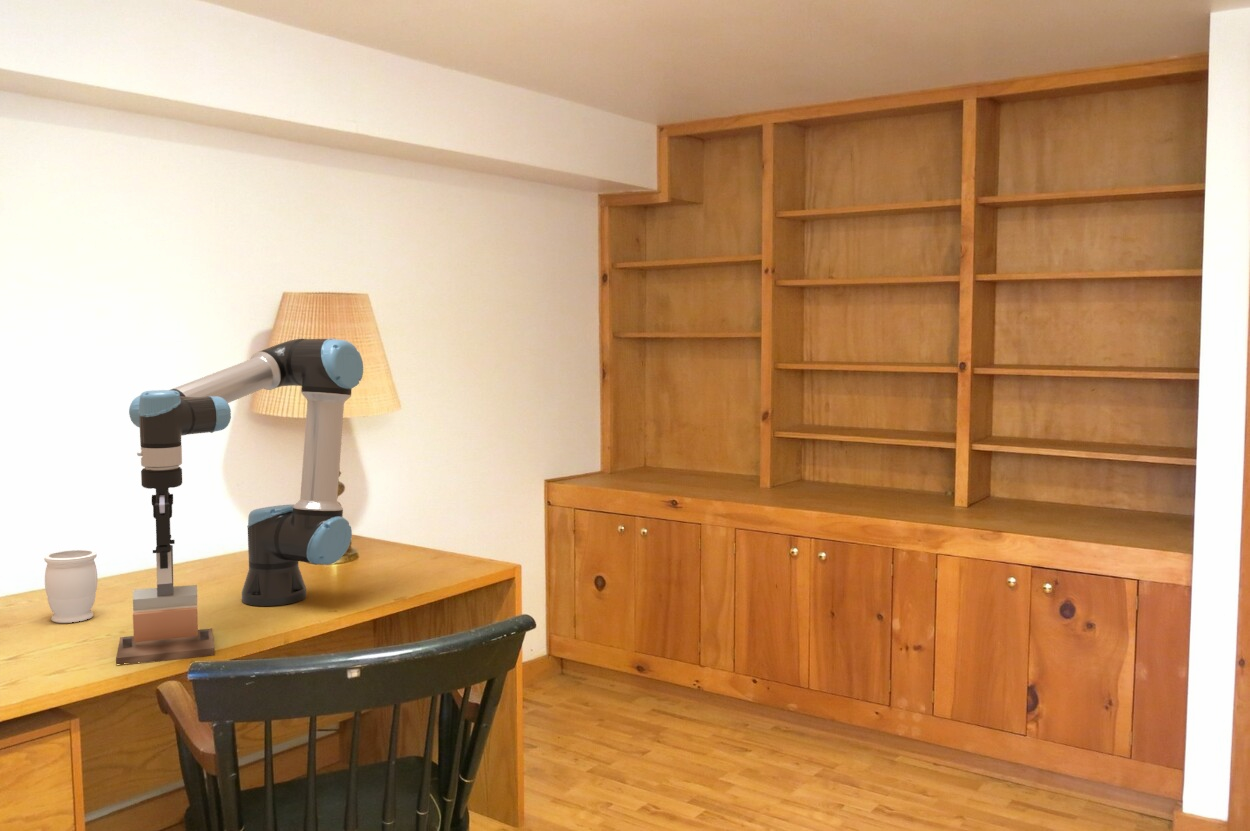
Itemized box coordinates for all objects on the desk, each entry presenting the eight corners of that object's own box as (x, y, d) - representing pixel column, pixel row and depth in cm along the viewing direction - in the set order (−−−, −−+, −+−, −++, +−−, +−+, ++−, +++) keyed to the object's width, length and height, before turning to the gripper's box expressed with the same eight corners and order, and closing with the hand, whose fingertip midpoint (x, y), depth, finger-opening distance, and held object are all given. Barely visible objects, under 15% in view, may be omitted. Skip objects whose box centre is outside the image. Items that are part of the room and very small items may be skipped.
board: (212, 635, 221) (212, 620, 221) (214, 655, 208) (214, 639, 207) (120, 644, 214) (119, 628, 214) (116, 665, 200) (115, 649, 200)
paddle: (196, 597, 214) (196, 542, 210) (197, 607, 211) (196, 551, 206) (133, 602, 209) (131, 546, 205) (133, 612, 206) (131, 555, 202)
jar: (106, 612, 238) (105, 549, 237) (84, 625, 228) (82, 559, 226) (60, 612, 238) (58, 549, 236) (36, 625, 227) (34, 559, 226)
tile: (197, 604, 211) (197, 608, 209) (197, 631, 214) (197, 636, 212) (133, 610, 206) (132, 614, 205) (134, 638, 209) (134, 642, 208)
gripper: (142, 461, 212) (146, 571, 214) (139, 474, 195) (142, 593, 198) (181, 460, 215) (184, 568, 217) (181, 472, 198) (184, 589, 201)
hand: (164, 579), depth 207 cm, fingers closed on paddle, 5 cm apart
